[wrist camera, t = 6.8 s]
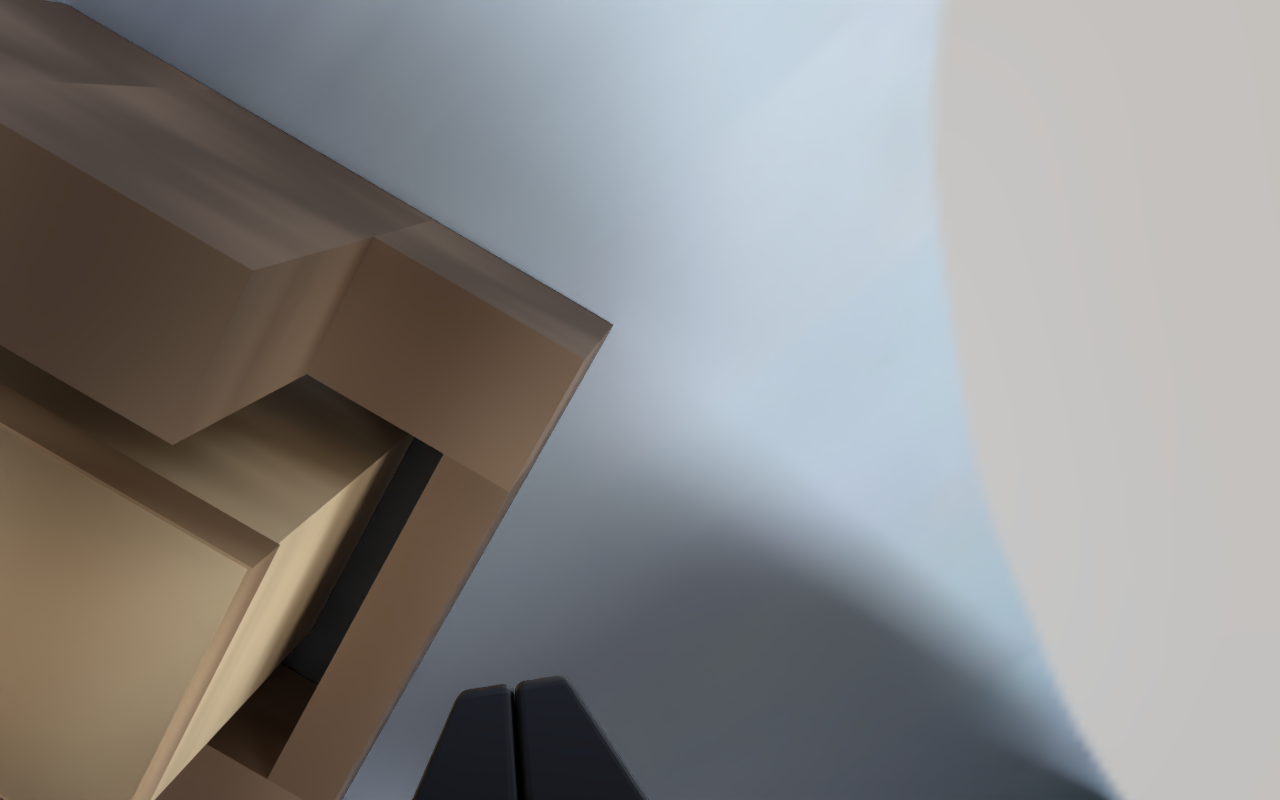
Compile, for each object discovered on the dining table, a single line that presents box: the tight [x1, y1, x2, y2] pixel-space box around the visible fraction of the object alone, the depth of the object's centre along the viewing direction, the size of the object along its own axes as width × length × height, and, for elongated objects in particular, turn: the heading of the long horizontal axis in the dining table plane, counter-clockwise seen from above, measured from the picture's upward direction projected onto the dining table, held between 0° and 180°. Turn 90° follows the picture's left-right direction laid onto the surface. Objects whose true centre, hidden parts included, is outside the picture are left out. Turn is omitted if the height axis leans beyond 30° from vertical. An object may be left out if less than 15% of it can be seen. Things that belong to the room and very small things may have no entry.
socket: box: [0, 0, 613, 800], centre depth 18 cm, size 11×12×7 cm
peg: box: [0, 345, 414, 800], centre depth 18 cm, size 5×5×7 cm
